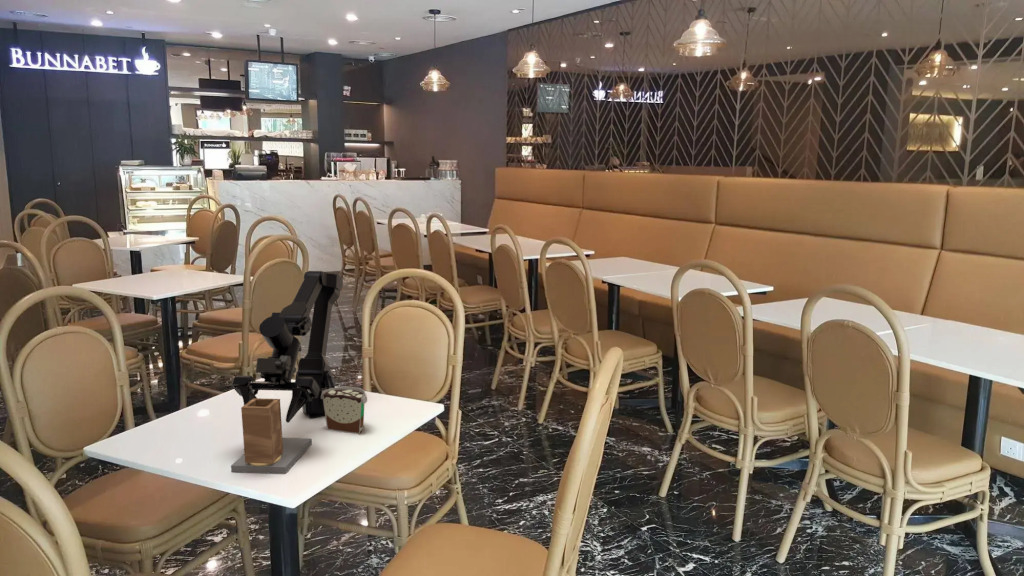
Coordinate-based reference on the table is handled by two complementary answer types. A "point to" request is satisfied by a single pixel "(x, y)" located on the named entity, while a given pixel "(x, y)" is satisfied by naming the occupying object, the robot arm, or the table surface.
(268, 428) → the wooden pencil cup
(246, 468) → the post stand
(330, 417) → the food container
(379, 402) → the table surface
